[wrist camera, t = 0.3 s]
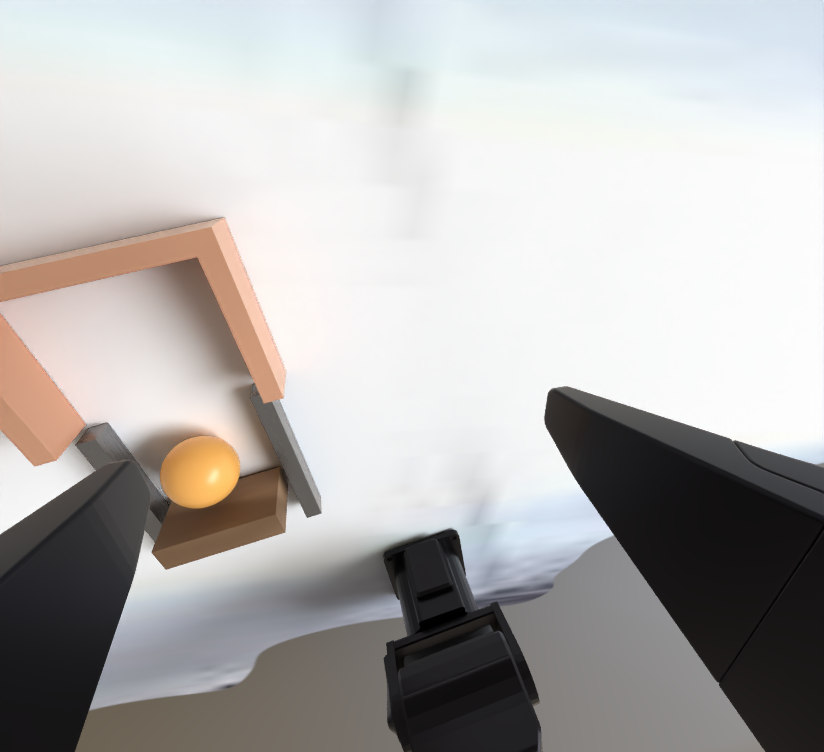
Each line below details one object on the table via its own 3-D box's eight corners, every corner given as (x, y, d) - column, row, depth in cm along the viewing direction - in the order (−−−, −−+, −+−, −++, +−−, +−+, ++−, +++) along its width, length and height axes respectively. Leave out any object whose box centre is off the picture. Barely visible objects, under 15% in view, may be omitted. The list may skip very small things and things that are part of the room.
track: (320, 497, 28) (321, 513, 26) (176, 541, 27) (170, 560, 25) (270, 379, 23) (268, 392, 21) (88, 427, 22) (75, 444, 20)
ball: (254, 463, 25) (246, 510, 22) (190, 481, 25) (172, 533, 21) (228, 414, 23) (215, 458, 20) (158, 433, 23) (133, 481, 19)
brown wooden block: (288, 483, 26) (285, 532, 23) (184, 515, 26) (166, 569, 22) (279, 466, 25) (275, 514, 22) (172, 498, 25) (151, 552, 21)
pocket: (285, 371, 23) (283, 398, 20) (67, 429, 21) (34, 466, 19) (224, 217, 18) (211, 226, 16) (-57, 278, 17) (-121, 299, 14)
